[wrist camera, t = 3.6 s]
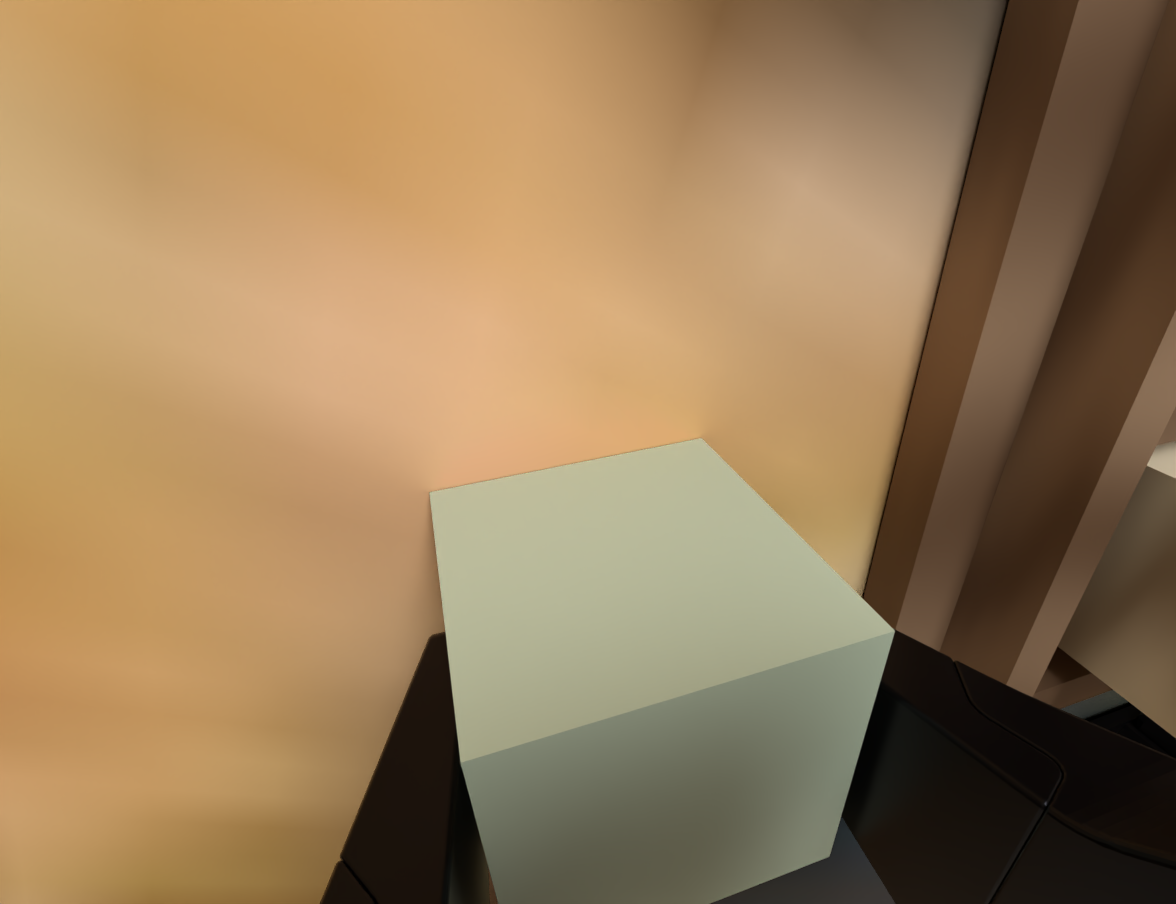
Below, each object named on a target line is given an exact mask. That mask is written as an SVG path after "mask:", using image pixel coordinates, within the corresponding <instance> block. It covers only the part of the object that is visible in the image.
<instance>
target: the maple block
mask: <svg viewBox="0 0 1176 904" xmlns="http://www.w3.org/2000/svg"><path fill="white" fill-rule="evenodd" d="M1058 647H1059V648H1060V649H1062V650H1063V651H1064V652H1065V653H1067V654H1068V655H1069V656H1071V657H1072V658H1073V659H1074V660H1076V661H1077V662H1078V663H1080V664H1081V665H1082V666H1083V667H1085V668H1086V669H1087V670H1089V671H1090V672H1091V673H1092V674H1094V675H1095V676H1096V677H1098V678H1099V679H1100V680H1101V681H1103V682H1104V683H1105V684H1107V685H1108V686H1109V687H1110V688H1112V689H1113V690H1114V691H1116V692H1117V693H1118V694H1119V695H1121V696H1122V697H1123V698H1125V699H1126V700H1127V701H1128V702H1130V703H1131V704H1132V705H1134V706H1135V707H1136V708H1137V709H1139V710H1140V711H1141V712H1143V713H1144V714H1145V715H1146V716H1148V717H1149V718H1150V719H1152V720H1153V721H1154V722H1155V723H1157V724H1158V725H1159V726H1161V727H1162V728H1163V729H1164V730H1166V731H1167V732H1168V733H1170V734H1171V735H1172V736H1173V737H1175V738H1176V441H1173V442H1169V443H1165V444H1161V445H1157V446H1156V448H1155V450H1154V452H1153V454H1152V456H1151V458H1150V460H1149V462H1148V464H1147V466H1146V468H1145V470H1144V472H1143V474H1142V476H1141V478H1140V480H1139V482H1138V484H1137V486H1136V488H1135V490H1134V492H1133V494H1132V496H1131V498H1130V500H1129V502H1128V504H1127V507H1126V509H1125V511H1124V513H1123V515H1122V517H1121V519H1120V521H1119V523H1118V525H1117V527H1116V529H1115V531H1114V533H1113V535H1112V537H1111V539H1110V541H1109V543H1108V545H1107V547H1106V549H1105V551H1104V553H1103V555H1102V557H1101V559H1100V561H1099V563H1098V565H1097V567H1096V569H1095V571H1094V573H1093V575H1092V577H1091V579H1090V581H1089V584H1088V586H1087V588H1086V590H1085V592H1084V594H1083V596H1082V598H1081V600H1080V602H1079V604H1078V606H1077V608H1076V610H1075V612H1074V614H1073V616H1072V618H1071V620H1070V622H1069V624H1068V626H1067V628H1066V630H1065V632H1064V634H1063V636H1062V638H1061V640H1060V642H1059V644H1058Z"/></svg>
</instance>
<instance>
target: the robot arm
mask: <svg viewBox="0 0 1176 904" xmlns="http://www.w3.org/2000/svg"><path fill="white" fill-rule="evenodd" d="M894 630H895V629H894ZM841 816H842V818H843V819H844V821H845V823H846V824H847V826H848V827H849V829H850V831H851V832H852V834H853V835H854V837H855V839H856V840H857V842H858V844H859V845H860V847H861V848H862V850H863V852H864V853H865V855H866V856H867V858H868V860H869V861H870V863H871V865H872V866H873V868H874V869H875V871H876V873H877V874H878V876H879V877H880V879H881V881H882V882H883V884H884V886H885V887H886V889H887V890H888V892H889V894H890V895H891V897H892V899H893V900H894V902H895V903H896V904H1176V738H1175V737H1173V736H1172V735H1171V734H1170V733H1168V732H1167V731H1166V730H1164V729H1163V728H1162V727H1161V726H1159V725H1158V724H1157V723H1155V722H1154V721H1153V720H1152V719H1150V718H1149V717H1148V716H1146V715H1145V714H1144V713H1143V712H1141V711H1140V710H1139V709H1137V708H1136V707H1135V706H1134V705H1132V706H1129V707H1126V708H1124V709H1121V710H1118V711H1116V712H1113V713H1110V714H1108V715H1105V716H1102V717H1100V718H1097V719H1094V720H1092V721H1089V722H1088V721H1086V720H1084V719H1081V718H1079V717H1077V716H1074V715H1072V714H1070V713H1067V712H1065V711H1063V710H1061V709H1058V708H1056V707H1054V706H1052V705H1049V704H1047V703H1045V702H1043V701H1040V700H1038V699H1036V698H1034V697H1031V696H1029V695H1027V694H1025V693H1022V692H1020V691H1018V690H1016V689H1014V688H1012V687H1010V686H1008V685H1006V684H1004V683H1002V682H1000V681H997V680H995V679H993V678H991V677H989V676H987V675H985V674H983V673H981V672H979V671H977V670H975V669H973V668H971V667H969V666H967V665H965V664H963V663H961V662H959V661H957V660H955V661H953V660H952V658H951V657H949V656H947V655H945V654H943V653H941V652H939V651H937V650H935V649H933V648H931V647H929V646H927V645H925V644H923V643H921V642H919V641H917V640H915V639H913V638H911V637H909V636H907V635H905V634H903V633H901V632H899V631H897V630H895V633H894V636H893V640H892V643H891V647H890V650H889V654H888V657H887V660H886V664H885V667H884V671H883V674H882V678H881V681H880V684H879V688H878V691H877V695H876V698H875V702H874V705H873V709H872V712H871V715H870V719H869V722H868V726H867V729H866V733H865V736H864V739H863V743H862V746H861V750H860V753H859V757H858V760H857V764H856V767H855V770H854V774H853V777H852V781H851V784H850V788H849V791H848V794H847V798H846V801H845V805H844V808H843V812H842V815H841ZM340 858H341V860H342V861H338V862H337V863H336V866H335V868H334V870H333V873H332V875H331V878H330V880H329V883H328V885H327V888H326V890H325V893H324V895H323V897H322V900H321V902H320V904H490V897H489V874H488V863H487V860H486V856H485V852H484V848H483V845H482V841H481V837H480V834H479V830H478V826H477V822H476V819H475V815H474V811H473V807H472V804H471V800H470V796H469V792H468V789H467V785H466V781H465V778H464V774H463V770H462V766H461V762H460V754H459V745H458V736H457V728H456V719H455V710H454V702H453V693H452V684H451V676H450V667H449V658H448V650H447V641H446V632H442V633H438V634H434V635H432V636H431V637H430V638H429V639H428V642H427V644H426V646H425V649H424V651H423V654H422V656H421V659H420V661H419V663H418V666H417V668H416V671H415V673H414V676H413V678H412V681H411V683H410V685H409V688H408V690H407V693H406V695H405V698H404V700H403V703H402V705H401V707H400V710H399V712H398V715H397V717H396V720H395V722H394V725H393V727H392V729H391V732H390V734H389V737H388V739H387V742H386V744H385V747H384V749H383V751H382V754H381V756H380V759H379V761H378V764H377V766H376V769H375V771H374V773H373V776H372V778H371V781H370V783H369V786H368V788H367V791H366V793H365V795H364V798H363V800H362V803H361V805H360V808H359V810H358V813H357V815H356V817H355V820H354V822H353V825H352V827H351V830H350V832H349V834H348V837H347V839H346V842H345V844H344V847H343V849H342V852H341V854H340Z"/></svg>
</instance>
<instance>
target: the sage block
mask: <svg viewBox="0 0 1176 904" xmlns="http://www.w3.org/2000/svg"><path fill="white" fill-rule="evenodd" d="M429 494H430V503H431V511H432V520H433V529H434V537H435V546H436V555H437V563H438V572H439V581H440V589H441V598H442V607H443V615H444V624H445V632H446V641H447V650H448V658H449V667H450V676H451V684H452V693H453V702H454V710H455V719H456V728H457V736H458V745H459V754H460V762H461V766H462V770H463V774H464V778H465V781H466V785H467V789H468V792H469V796H470V800H471V804H472V807H473V811H474V815H475V819H476V822H477V826H478V830H479V834H480V837H481V841H482V845H483V848H484V852H485V856H486V860H487V863H488V867H489V871H490V875H491V878H492V882H493V886H494V890H495V893H496V897H497V901H498V904H710V903H713V902H715V901H718V900H720V899H723V898H725V897H728V896H730V895H733V894H736V893H738V892H741V891H743V890H746V889H748V888H751V887H753V886H756V885H758V884H761V883H764V882H766V881H769V880H771V879H774V878H776V877H779V876H781V875H784V874H786V873H789V872H791V871H794V870H797V869H799V868H802V867H804V866H807V865H809V864H812V863H814V862H817V861H819V860H822V859H825V858H827V857H829V856H830V853H831V849H832V846H833V843H834V839H835V836H836V832H837V829H838V825H839V822H840V819H841V815H842V812H843V808H844V805H845V801H846V798H847V794H848V791H849V788H850V784H851V781H852V777H853V774H854V770H855V767H856V764H857V760H858V757H859V753H860V750H861V746H862V743H863V739H864V736H865V733H866V729H867V726H868V722H869V719H870V715H871V712H872V709H873V705H874V702H875V698H876V695H877V691H878V688H879V684H880V681H881V678H882V674H883V671H884V667H885V664H886V660H887V657H888V654H889V650H890V647H891V643H892V640H893V636H894V633H895V630H894V629H893V628H892V627H891V626H890V625H889V624H888V623H887V622H886V621H885V620H884V619H883V618H882V617H881V616H880V615H879V614H878V613H877V612H876V611H875V610H874V609H873V608H872V607H871V606H870V605H869V604H868V603H867V602H866V601H865V600H863V599H862V598H861V597H860V596H859V595H858V594H857V593H856V592H855V591H854V590H853V589H852V588H851V587H850V586H849V585H848V584H847V583H846V582H845V581H844V580H843V579H842V578H841V577H840V576H839V575H838V574H837V573H836V572H835V571H834V570H833V569H832V568H831V567H830V566H829V565H828V564H827V563H826V562H825V561H824V560H823V559H822V558H821V557H820V556H819V555H818V554H817V553H816V552H815V551H814V550H813V549H812V548H811V547H810V546H809V545H808V544H807V543H806V542H805V541H804V540H803V539H802V538H801V537H800V536H799V535H798V534H797V533H796V532H795V531H794V530H793V529H792V528H791V527H790V526H789V525H788V524H787V523H786V522H785V521H784V520H783V519H782V518H781V517H780V516H779V515H778V514H777V513H776V512H775V511H774V510H773V509H772V508H771V507H770V506H769V505H768V504H767V503H766V502H765V501H764V500H763V499H762V498H761V497H760V496H759V495H758V494H757V493H756V492H755V491H754V490H753V489H752V488H751V487H750V486H749V485H748V484H747V483H746V482H745V481H744V480H743V479H742V478H741V477H740V476H739V475H738V474H737V473H736V472H735V471H734V470H733V469H732V468H731V467H730V466H729V465H728V464H727V463H726V462H725V461H724V460H723V459H722V458H721V457H720V456H719V455H718V454H717V453H716V452H715V451H714V450H713V449H712V448H711V447H710V446H709V445H708V444H707V443H706V442H705V441H704V440H703V439H702V438H700V439H695V440H690V441H685V442H680V443H675V444H669V445H664V446H659V447H654V448H649V449H644V450H639V451H634V452H629V453H624V454H619V455H614V456H609V457H604V458H599V459H594V460H589V461H584V462H579V463H574V464H569V465H564V466H559V467H554V468H549V469H544V470H539V471H534V472H529V473H524V474H519V475H514V476H509V477H504V478H499V479H494V480H489V481H484V482H479V483H474V484H469V485H464V486H459V487H454V488H449V489H444V490H438V491H433V492H429Z"/></svg>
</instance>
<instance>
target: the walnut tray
mask: <svg viewBox="0 0 1176 904" xmlns="http://www.w3.org/2000/svg"><path fill="white" fill-rule="evenodd" d="M1173 441H1176V0H1009V4H1008V8H1007V12H1006V16H1005V20H1004V24H1003V28H1002V33H1001V37H1000V41H999V45H998V49H997V53H996V57H995V61H994V65H993V69H992V73H991V78H990V82H989V86H988V90H987V94H986V98H985V102H984V106H983V110H982V114H981V119H980V123H979V127H978V131H977V135H976V139H975V143H974V147H973V151H972V155H971V159H970V164H969V168H968V172H967V176H966V180H965V184H964V188H963V192H962V196H961V200H960V205H959V209H958V213H957V217H956V221H955V225H954V229H953V233H952V237H951V241H950V245H949V250H948V254H947V258H946V262H945V266H944V270H943V274H942V278H941V282H940V286H939V291H938V295H937V299H936V303H935V307H934V311H933V315H932V319H931V323H930V327H929V331H928V336H927V340H926V344H925V348H924V352H923V356H922V360H921V364H920V368H919V372H918V377H917V381H916V385H915V389H914V393H913V397H912V401H911V405H910V409H909V413H908V417H907V422H906V426H905V430H904V434H903V438H902V442H901V446H900V450H899V454H898V458H897V463H896V467H895V471H894V475H893V479H892V483H891V487H890V491H889V495H888V499H887V503H886V508H885V512H884V516H883V520H882V524H881V528H880V532H879V536H878V540H877V544H876V549H875V553H874V557H873V561H872V565H871V569H870V573H869V577H868V581H867V585H866V589H865V594H864V598H863V600H865V601H866V602H867V603H868V604H869V605H870V606H871V607H872V608H873V609H874V610H875V611H876V612H877V613H878V614H879V615H880V616H881V617H882V618H883V619H884V620H885V621H886V622H887V623H888V624H889V625H890V626H891V627H892V628H893V629H895V630H897V631H899V632H901V633H903V634H905V635H907V636H909V637H911V638H913V639H915V640H917V641H919V642H921V643H923V644H925V645H927V646H929V647H931V648H933V649H935V650H937V651H939V652H941V653H943V654H945V655H947V656H949V657H951V658H952V660H953V661H955V660H957V661H959V662H961V663H963V664H965V665H967V666H969V667H971V668H973V669H975V670H977V671H979V672H981V673H983V674H985V675H987V676H989V677H991V678H993V679H995V680H997V681H1000V682H1002V683H1004V684H1006V685H1008V686H1010V687H1012V688H1014V689H1016V690H1018V691H1020V692H1022V693H1025V694H1027V695H1029V696H1031V697H1034V698H1036V699H1038V700H1040V701H1043V702H1045V703H1047V704H1049V705H1052V706H1054V707H1056V708H1058V709H1061V708H1064V707H1066V706H1069V705H1072V704H1075V703H1077V702H1080V701H1083V700H1086V699H1088V698H1091V697H1094V696H1096V695H1099V694H1102V693H1105V692H1107V691H1110V690H1113V689H1112V688H1110V687H1109V686H1108V685H1107V684H1105V683H1104V682H1103V681H1101V680H1100V679H1099V678H1098V677H1096V676H1095V675H1094V674H1092V673H1091V672H1090V671H1089V670H1087V669H1086V668H1085V667H1083V666H1082V665H1081V664H1080V663H1078V662H1077V661H1076V660H1074V659H1073V658H1072V657H1071V656H1069V655H1068V654H1067V653H1065V652H1064V651H1063V650H1062V649H1060V648H1059V647H1058V644H1059V642H1060V640H1061V638H1062V636H1063V634H1064V632H1065V630H1066V628H1067V626H1068V624H1069V622H1070V620H1071V618H1072V616H1073V614H1074V612H1075V610H1076V608H1077V606H1078V604H1079V602H1080V600H1081V598H1082V596H1083V594H1084V592H1085V590H1086V588H1087V586H1088V584H1089V581H1090V579H1091V577H1092V575H1093V573H1094V571H1095V569H1096V567H1097V565H1098V563H1099V561H1100V559H1101V557H1102V555H1103V553H1104V551H1105V549H1106V547H1107V545H1108V543H1109V541H1110V539H1111V537H1112V535H1113V533H1114V531H1115V529H1116V527H1117V525H1118V523H1119V521H1120V519H1121V517H1122V515H1123V513H1124V511H1125V509H1126V507H1127V504H1128V502H1129V500H1130V498H1131V496H1132V494H1133V492H1134V490H1135V488H1136V486H1137V484H1138V482H1139V480H1140V478H1141V476H1142V474H1143V472H1144V470H1145V468H1146V466H1147V464H1148V462H1149V460H1150V458H1151V456H1152V454H1153V452H1154V450H1155V448H1156V446H1157V445H1161V444H1165V443H1169V442H1173Z"/></svg>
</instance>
